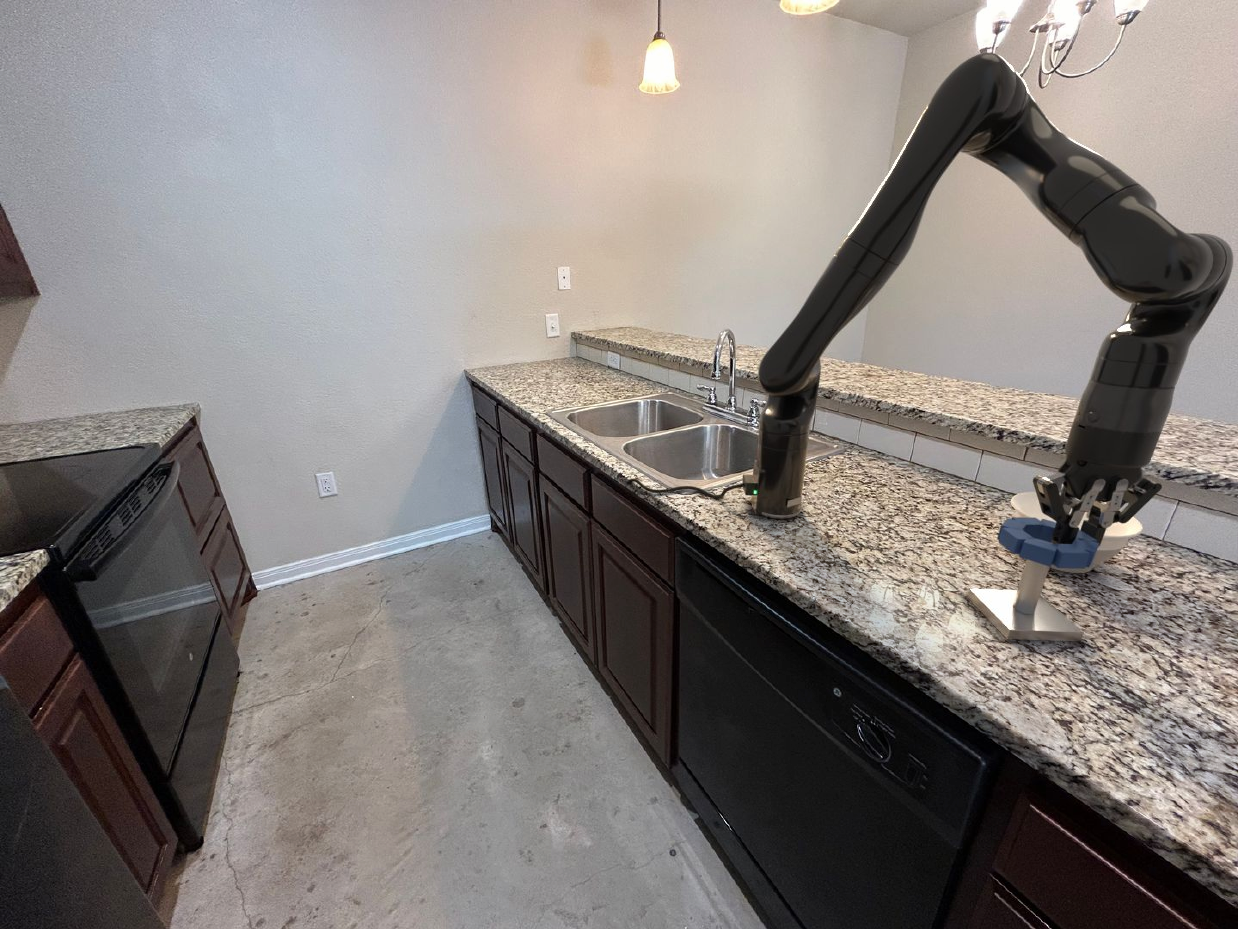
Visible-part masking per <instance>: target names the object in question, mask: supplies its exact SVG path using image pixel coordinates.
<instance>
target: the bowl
mask: <svg viewBox="0 0 1238 929" xmlns="http://www.w3.org/2000/svg"><path fill="white" fill-rule="evenodd" d="M1060 495H1061V493H1060ZM1075 499H1076V498H1075ZM1077 500H1078V499H1077ZM1079 501H1080V500H1079ZM1010 504H1011V506H1012V508H1013V509H1014V510H1015V514H1014V517H1027V518H1037V519H1038V520H1040V521H1041V520H1042V519H1046V520H1050V521H1053V522H1056V521H1054V520H1053V519H1052V518H1050V517H1049V516H1047V515H1045V514H1043V513H1042V510H1041V507H1040V504H1039V500H1038V497H1037V494H1036V491H1025V492H1020V493H1018V494H1015V495H1013V497H1011V499H1010ZM1071 511H1072V508H1071V510H1070V513H1071ZM1119 511H1122V510H1121V509H1120V510H1119ZM1070 513H1069V514H1070ZM1086 514H1087V512H1085V514H1084V516H1083V518H1082V520H1081V522H1080V524H1079V525H1078V526H1077V527H1079V530H1081V527H1082V524H1083V521H1084V520H1089V519H1088V518H1087V517H1086ZM1143 532H1144V528H1143V524H1142V522H1140V520H1138V519H1137V518H1136V517H1134V516H1133V517H1132V518H1131V519H1130V520H1129V521H1128V522H1126V523H1120V522H1117V523H1113V524H1112V525H1111V526H1110V527H1108V528H1106V531H1105V534H1104V536H1103V539H1102V542H1101V544H1100V546H1099V547H1098V549H1097V552H1096V554H1095V557H1094V559H1093V561H1092V563H1091V565H1090V567H1085V569H1077V568H1057V567H1056V566H1054V565H1053V564H1052V565H1051V566H1050V568H1049V569H1053V570H1057V571H1059V572H1067V573H1072V574H1084V573H1085V574H1086V573H1089V572H1091V571H1092V570H1093V568H1094V567H1097V566H1099V565H1101V564H1103V563H1105V562H1107V561H1109V560H1110V559H1112V558H1114V557H1115V556H1117V555H1119V553H1120V552H1121V551H1122V550H1123V549H1124V548H1125V547H1126V545H1127V544H1128V542H1129V539H1131V538H1136V537H1138V536H1139V535H1141V534H1142V533H1143ZM1046 542H1047V541H1046Z"/></svg>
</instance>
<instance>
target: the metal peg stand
mask: <svg viewBox="0 0 1238 929" xmlns="http://www.w3.org/2000/svg"><path fill="white" fill-rule="evenodd" d="M1023 567H1024V568H1023V569H1022V574H1021V577H1020V580H1019V583H1018V586H1017V589H997V588H996V589H993V588H992V589H991V588H969V589H968V594H967V599H968V600H969V601H970V602H971V603H972V604H973V605H974V606H975V607H976V609H978V611H980V612H981V613H982V615H983V616H984V617H985V618H986V619H987V620H988V621H989V622H990V623H991V624H992V625H993V626H994V627H995V628H996V629H997V630H998V631H999V633H1000V634H1001V635H1002V636H1004V638H1005V639H1006V640H1019V641H1020V640H1022V641H1049V642H1050V641H1052V642H1053V641H1055V642H1056V641H1057V642H1081V641H1082V639H1083V636H1084V634H1085V631H1084V630H1082V629H1081V628H1080V627H1079V626H1077V625H1076V623H1074V622H1073V621H1072V620H1071V619H1070V618H1068V617H1067V616H1066V615H1065V614H1063V613H1062V612H1061V611H1059V609H1058V608H1056V607H1055V606H1054V605H1053V604H1052V603H1051V602H1049V601H1048V600H1047V599H1046V598H1045V597H1044V596H1042V595H1041V594H1042V591H1043V588H1044V586H1045V582H1046V579H1047V576H1048V573H1049V570H1050V569H1051V568H1050V567H1049V566H1046V565H1043V564H1040V563H1037V562H1033V561H1030V560H1027V559H1026V561H1025V564H1024V566H1023Z"/></svg>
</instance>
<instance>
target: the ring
mask: <svg viewBox="0 0 1238 929" xmlns="http://www.w3.org/2000/svg"><path fill="white" fill-rule="evenodd" d="M1056 523H1057V522H1053V521H1050V520H1046V519H1042V520H1041V521H1040V520H1038V519H1037V518H1027V517H1015V516H1014V517H1013V516H1012V517H1011V518H1009V517H1007V518H1006V519H1005V521H1004V522H1003V523H1002V524H1001V525H1000V528H999V531H998V535H997V538H996V540H997V541H998V544H1000V545H1001V546H1002V547H1004V548H1005V549H1006V550H1007V551H1009V552H1010V553H1011V554H1012V555H1019V556H1018V557H1019V558H1021V559H1024V560H1026V561H1027V560H1030V561H1033V562H1037V563H1040V564H1043V565H1046V566H1049V567H1050V566H1051V565H1052V564H1053V565H1054V566H1056V567H1057V568H1077V569H1085V567H1090V565H1091V563H1092V561H1093V559H1094V557H1095V554H1096V552H1097V549H1098V546H1099V543H1097V540H1096V539H1094V538H1092V537H1091V536H1089V535H1087V534H1086V533H1084V532H1082V531H1081V530H1079V531H1078V534H1077V537H1076V539H1075V540H1074V542H1073V543H1072V544H1053V543H1052V541H1051V538H1052V535H1053V533H1054V529H1055V526H1056ZM1046 541H1047V542H1046Z"/></svg>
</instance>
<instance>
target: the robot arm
mask: <svg viewBox="0 0 1238 929" xmlns="http://www.w3.org/2000/svg"><path fill="white" fill-rule="evenodd" d="M960 153H962V154H965V155H968V156H970V157H972V158H974V159H976V160H978V161H980V162H982V163H984V164H986V165H988V166H989V167H992V168H994V169H995V170H996V171H998V172H999V173H1001V174H1003V175H1004V176H1005V177H1007V179H1009V180H1010V181H1011V182H1012V183H1014V184H1015V186H1017V187H1018V188H1019V189H1020V190H1021V192H1022V193H1023V195H1025V197H1026V198H1027V199H1028V200H1029V201H1030V203H1031V204H1032V205H1033V206H1034V207H1035V208H1036V210H1037V211H1038V212H1039V213H1040V214H1041V215H1042V216H1043V218H1044V219H1046V220H1047V222H1049V223H1050V224H1051V225H1052V226H1053V227H1054V228H1055V229H1056V230H1058V231H1059V232H1060V233H1061V234H1062V236H1064V237H1065V238H1067V240H1068V241H1070V242H1071V243H1072V244H1074V245H1075V246H1076V247H1077V248H1079V249H1080V250H1081V252H1082V253H1083V256H1084V258H1085V259H1086V261H1087V263H1088V264H1089V266H1090V267H1091V268H1092V270H1093V271H1094V273H1095V274H1096V276H1097V277H1098V279H1099V280H1100V281H1101V283H1102V284H1103V285H1104V286H1105V287H1106V288H1107V290H1109V291H1110V292H1111V293H1113V294H1114V295H1115V296H1116V297H1118V298H1119V299H1120V300H1123V301H1125V302H1126V303H1129V304H1131V305H1130V306H1129V308H1128V310H1127V313H1126V316H1125V318H1124V319H1123V321H1122V323H1121V324H1120V325H1119V326H1118V327H1117V328H1115V329H1114V330H1112V331H1110V332H1109V333H1108V334H1107V335H1106V336H1105V337H1104V338H1103V340H1102V341H1101V344H1100V346H1099V349H1098V351H1097V354H1096V358H1095V361H1094V364H1093V368H1092V370H1091V373H1090V378H1089V379H1088V382H1087V385H1086V387H1085V389H1084V391H1083V393H1082V394H1081V397H1080V400H1079V402H1078V406H1077V407H1076V408H1077V409H1076V411H1075V415H1074V418H1073V421H1072V425H1071V428H1070V430H1069V434H1068V437H1067V440H1066V443H1065V447H1064V449H1065V460H1064V462H1063V463H1062V464H1061V465H1060V466H1059V467H1058V469H1057V472H1055V473H1053V474H1050V475H1047V476H1045V477H1044V476H1043V475H1035V476H1033V478H1032V483H1033V487H1034V490H1035V491H1034V492H1036V494H1037V497H1038V500H1039V504H1040V507H1041V510H1042V513H1043V514H1045V515H1047V516H1049V517H1050V518H1052V519H1053V520H1054V521H1056V522H1057V523H1056V526H1055V529H1054V533H1053V535H1052V538H1051V541H1052V543H1053V544H1072V543H1073V542H1074V540H1075V539H1076V537H1077V534H1078V531H1079V527H1077V526H1078V525H1079V524H1080V522H1081V520H1082V518H1083V516H1084V514H1085V512H1087V514H1086V517H1087V518H1088V519H1089V520H1084V521H1083V524H1082V527H1081V531H1082V532H1084V533H1086V534H1087V535H1089V536H1091V537H1092V538H1094V539H1096V540H1097V543H1099V546H1100V544H1101V542H1102V539H1103V536H1104V534H1105V531H1106V528H1108V527H1110V526H1111V525H1112V524H1113V523H1117V522H1120V523H1126V522H1128V521H1129V520H1130V519H1131V518H1132V517H1134V516H1135V515H1136V514H1138V512H1139V511H1140V510H1142V509H1143V508H1144V506H1146V505H1147V504H1148V503H1149V502H1150V501H1151V500H1152V499H1153V498H1154V497H1155V496H1156V495H1157V494H1158V493H1159V492H1160V491H1161V490H1162V489H1163V485H1162V484H1161V483H1159V482H1157V481H1154V480H1153V479H1150V478H1147V477H1145V476H1143V468H1144V467H1146V466H1148V465H1149V464H1150V463H1151V461H1152V459H1153V455H1154V452H1155V450H1156V448H1157V445H1158V443H1159V439H1160V437H1161V435H1162V432H1163V430H1164V427H1165V424H1166V421H1167V419H1168V417H1169V414H1170V412H1171V408H1172V405H1173V399H1174V393H1175V390H1176V386H1177V385H1178V381H1179V378H1180V376H1181V373H1182V370H1183V368H1184V366H1185V363H1186V360H1187V357H1188V355H1189V351H1190V347H1191V345H1192V343H1193V341H1194V339H1195V338H1196V337H1197V335H1198V334H1199V333H1200V331H1201V330H1202V329H1203V327H1204V326H1205V324H1206V322H1207V320H1208V319H1209V317H1210V316H1211V314H1212V313H1213V310H1214V309H1215V307H1216V305H1217V304H1218V303H1219V301H1220V299H1221V297H1222V295H1223V293H1224V292H1225V290H1226V288H1227V285H1228V283H1229V281H1230V278H1231V275H1232V271H1233V268H1234V252H1233V250H1232V247H1231V246H1230V243H1228V242H1227V241H1226V240H1224V239H1223V238H1221V237H1219V236H1217V235H1214V234H1210V233H1203V232H1202V233H1201V232H1195V233H1194V232H1193V233H1192V232H1191V233H1190V232H1185V231H1182V230H1181V229H1179V228H1178V227H1176V226H1175V225H1173V224H1172V223H1171V222H1170V221H1169V220H1167V219H1166V218H1165V217H1164V215H1162V214H1161V213H1159V212H1158V211H1157V206H1158V205H1157V204H1158V203H1157V200H1156V198H1155V197H1154V196H1153V195H1152V194H1151V192H1150V191H1149V190H1147V189H1146V188H1145V187H1144V186H1143V185H1141V184H1140V183H1139V182H1138V181H1136V180H1135V179H1134V178H1133V177H1131V176H1130V175H1128V174H1127V173H1126V172H1125V171H1123V170H1122V169H1121V168H1119V167H1118V166H1117V165H1115V164H1114V163H1112V162H1111V161H1110V160H1108V159H1107V158H1105V157H1103V156H1102V155H1100V154H1099V153H1097V152H1095V151H1093V150H1092V149H1090V148H1088V147H1086V146H1084V145H1082V144H1080V143H1078V142H1076V141H1075V140H1073V139H1072V138H1070V137H1068V136H1067V135H1066V134H1064V133H1063V132H1062V131H1060V130H1059V129H1058V127H1056V126H1055V125H1054V124H1053V123H1052V121H1050V120H1049V119H1048V117H1047V116H1046V114H1044V111H1042V109H1041V107H1039V105H1038V104H1037V102H1036V101H1035V99H1034V98H1033V96H1032V95H1031V94H1030V91H1029V89H1028V87H1027V84H1026V82H1025V80H1024V79H1023V78H1022V77H1021V76H1020V74H1019V73H1018V72H1017V71H1016V70H1015V69H1014V67H1013V66H1012V65H1011V64H1009V62H1007V61H1006V60H1005V59H1004V58H1003V56H1001V55H999V54H997V53H994V52H983V53H982V52H981V53H978V54H976V55H974V56H971V57H968V59H966V60H964V61H963V62H961V63H960V64H959V65H958V66H957V67H955V68H954V69H953V70H952V71H951V72H950V73H949V74H948V76H947V77H946V78H945V79H944V80H943V81H942V82H941V84H940V85H939V86H938V88H937V89H936V90H935V92H934V94H933V95H932V97H931V98H930V100H929V102H928V104H927V105H926V107H925V109H924V110H923V112H922V114H921V115H920V118H919V120H918V121H917V123H916V125H915V127H914V128H913V130H912V132H911V134H910V136H909V138H908V139H907V141H906V143H905V145H904V146H903V148H902V150H901V152H900V153H899V155H898V157H897V159H896V160H895V162H894V163H893V165H892V167H891V169H890V170H889V171H888V173H887V175H886V176H885V178H884V180H883V181H882V183H881V184H880V185H879V187H878V189H877V190H876V192H875V193H874V194H873V196H872V198H871V200H869V202H868V204H867V206H866V207H865V209H864V210H863V212H862V213H861V215H860V217H859V218H858V219H857V221H856V222H855V224H854V225H853V226H852V227H851V229H850V230H849V232H848V233H847V235H846V236H845V238H844V239H843V241H842V242H841V244H840V245H839V247H838V248H837V250H836V251H835V253H834V254H833V256H832V257H831V259H830V260H829V262H828V263H827V266H826V267H825V268H824V270H823V271H822V273H821V275H820V276H819V278H818V280H816V282H815V285H814V286H813V288H812V289H811V291H810V293H809V294H808V296H807V297H806V299H805V301H804V303H803V305H802V306H801V307H800V309H799V311H798V313H797V314H796V315H795V317H794V318H793V319H792V321H791V322H790V324H789V325H788V326H787V327H786V328H785V329H784V331H783V332H782V333H781V335H780V336H779V337H778V338H777V339H776V340H775V342H774V343H773V344H772V345H771V346H770V348H769V349H768V350H766V352H765V354H764V355H763V357H762V358H761V360H760V362H759V366H758V370H757V378H758V382H759V384H760V387H761V389H762V390H763V391H764V392H765V393H766V394H767V399H766V403H765V405H764V407H763V409H762V411H761V413H760V415H759V425H758V426H759V428H758V440H757V450H756V459H755V460H754V461H753V468H752V474H742V483H739V484H733V485H730V486H727V487H726V488H724V489H723V490H722V492H721V493H720V494H712V493H710V492H709V491H706V490H704V489H703V488H700V487H696V486H692V485H682V486H675V487H670V488H663V489H657V488H656V489H655V488H650V487H648V486H647V485H644V483H642V482H641V481H640V480H639V479H637V478H630V479H628V480H627V481H626V484H631V483H632V482H633V483H636V484H637V485H638V486H640V487H641V488H642V489H643V490H645V491H646V492H649V493H653V494H664V493H672V492H676V491H681V490H692V491H697V492H699V493H701V494H703V495H706V496H708V497H710V498H712V499H716V500H718V499H722V498H724V497H725V495H726V493H727V492H729V491H732V490H735V489H739V488H742V490H743V492H744V495H745V496H750V504H751V508H752V510H753V511H754V514H755V515H756V516H763V517H766V518H769V519H778V520H779V519H780V520H786V519H793V518H796V517H797V516H799V515H800V514H801V511H802V507H801V506H802V499H803V497H802V496H803V489H804V482H805V473H806V464H807V456H808V448H809V439H810V432H811V431H810V430H811V424H812V420H813V417H814V415H815V411H816V407H817V402H818V395H819V390H820V383H821V382H820V381H821V375H822V374H821V373H822V362H821V357H822V356H823V354H824V353H825V351H826V350H827V348H828V347H829V345H831V343H832V341H833V340H834V339H835V338H836V336H837V335H838V334H839V333H840V332H841V331H842V330H843V329H844V328H845V327H846V326H847V325H848V324H849V323H850V322H852V320H854V319H855V318H856V317H857V316H858V315H859V314H860V313H861V312H862V311H863V310H864V309H865V308H866V307H867V306H868V305H869V303H871V301H872V300H873V299H874V298H875V297H876V296H877V295H878V294H879V293H880V292H881V290H882V289H883V288H884V287H885V286H886V284H887V283H888V282H889V280H890V279H891V278H892V277H893V275H894V274H895V273H896V272H897V270H898V269H899V267H900V265H902V264H903V262H904V260H905V259H906V257H907V256H908V254H909V253H910V250H911V249H912V246H913V244H914V242H915V240H916V236H917V234H918V231H919V229H920V225H921V222H922V219H923V216H924V214H925V210H926V207H927V205H928V202H929V199H930V198H931V196H932V194H933V191H934V189H935V188H936V186H937V184H938V183H939V181H940V180H941V178H942V177H943V175H945V173H946V171H947V170H948V169H949V167H950V166H951V164H952V163H953V161H954V160H955V159H956V158H957V156H958V155H959V154H960ZM1062 486H1063V488H1062ZM1060 494H1061V495H1060ZM1075 498H1076V499H1075ZM1077 499H1078V500H1077ZM1079 500H1080V501H1079ZM1126 504H1127V505H1126ZM1124 505H1126V506H1125V507H1124ZM1123 507H1124V508H1123ZM1071 508H1072V511H1071V513H1070V510H1071ZM1122 508H1123V509H1122ZM1121 509H1122V510H1121ZM1119 510H1121V511H1119ZM1069 513H1070V514H1069ZM1099 546H1098V547H1099Z"/></svg>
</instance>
